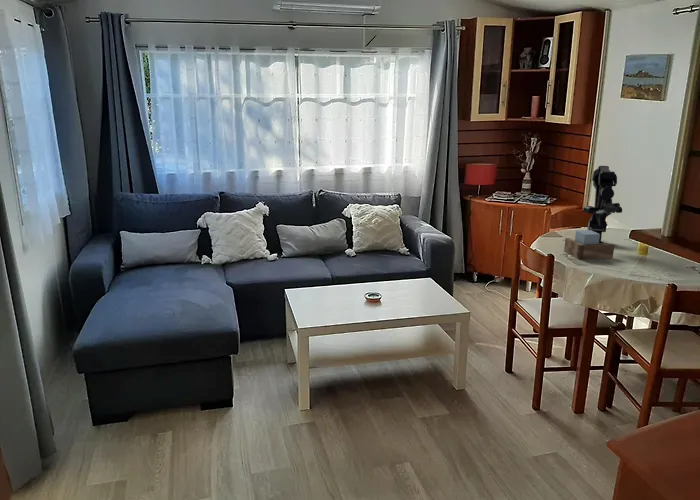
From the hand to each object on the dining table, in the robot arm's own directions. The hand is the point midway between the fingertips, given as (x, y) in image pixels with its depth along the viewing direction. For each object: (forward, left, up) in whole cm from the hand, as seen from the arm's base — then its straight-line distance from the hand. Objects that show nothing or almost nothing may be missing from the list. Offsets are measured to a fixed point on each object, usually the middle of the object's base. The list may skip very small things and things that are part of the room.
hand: (600, 225), depth 290 cm
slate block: (+12, -14, -12) cm, 22 cm away
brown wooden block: (+11, -12, -12) cm, 20 cm away
